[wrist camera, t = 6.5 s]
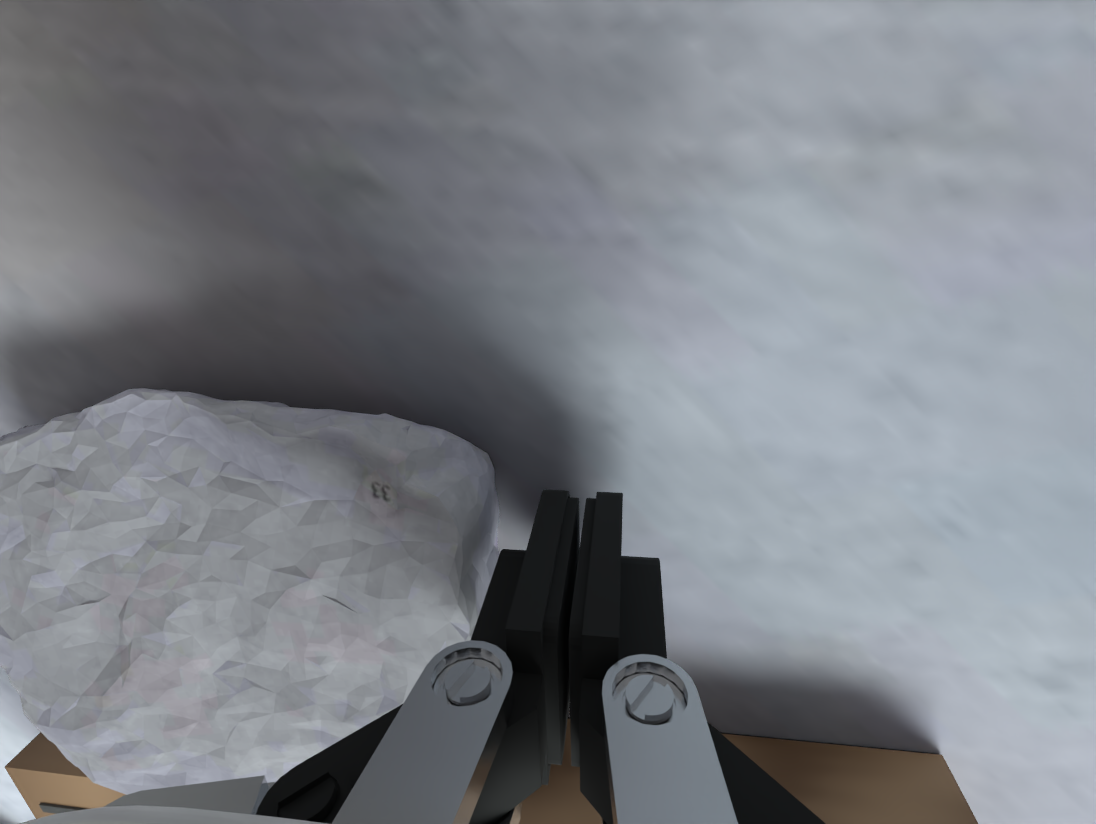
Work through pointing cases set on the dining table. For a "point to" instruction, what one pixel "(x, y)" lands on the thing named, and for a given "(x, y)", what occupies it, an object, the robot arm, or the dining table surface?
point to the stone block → (231, 578)
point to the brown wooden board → (570, 820)
